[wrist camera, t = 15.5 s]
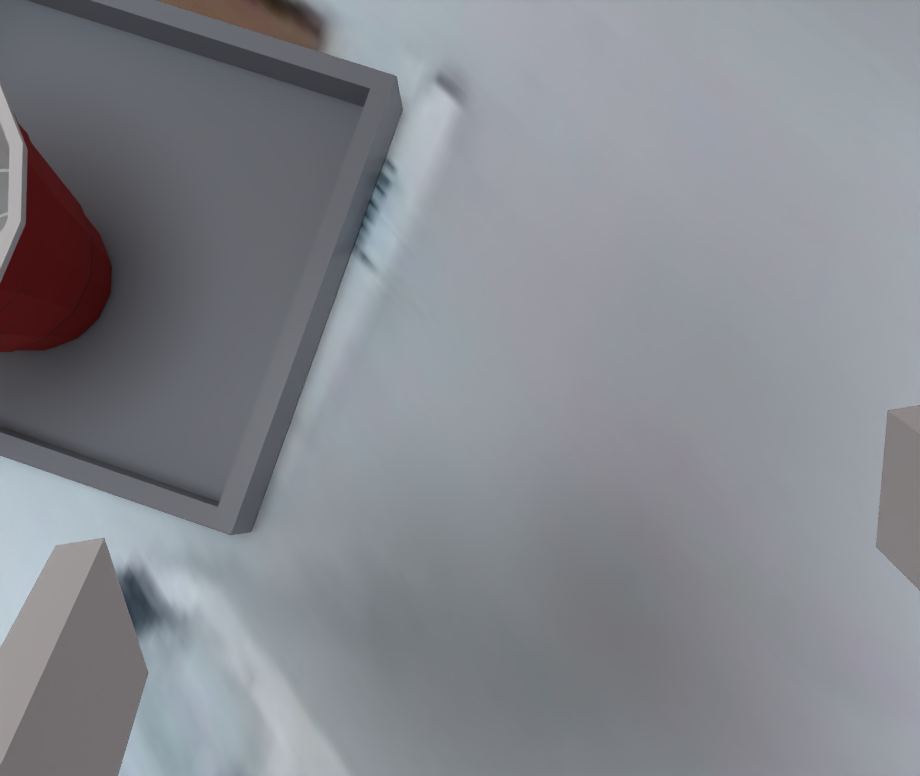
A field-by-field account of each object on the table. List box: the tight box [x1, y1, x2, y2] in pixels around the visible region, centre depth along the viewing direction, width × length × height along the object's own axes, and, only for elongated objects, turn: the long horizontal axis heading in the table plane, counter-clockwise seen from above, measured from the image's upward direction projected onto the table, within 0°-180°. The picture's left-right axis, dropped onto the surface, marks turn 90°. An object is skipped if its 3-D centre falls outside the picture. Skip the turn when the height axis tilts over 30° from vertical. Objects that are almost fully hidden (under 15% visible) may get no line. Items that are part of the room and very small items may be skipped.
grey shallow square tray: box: [0, 0, 403, 535], centre depth 35 cm, size 19×19×3 cm
